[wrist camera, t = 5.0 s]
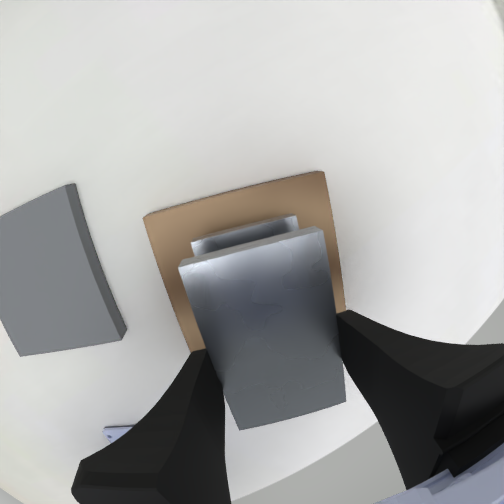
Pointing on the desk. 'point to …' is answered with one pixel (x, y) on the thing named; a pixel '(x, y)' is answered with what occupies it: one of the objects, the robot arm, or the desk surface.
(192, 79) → the desk surface
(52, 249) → the stand
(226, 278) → the block
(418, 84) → the desk surface
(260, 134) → the desk surface
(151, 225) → the stand
